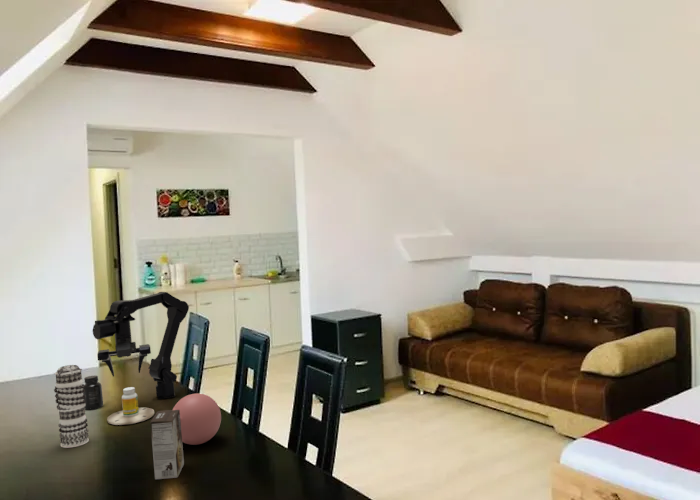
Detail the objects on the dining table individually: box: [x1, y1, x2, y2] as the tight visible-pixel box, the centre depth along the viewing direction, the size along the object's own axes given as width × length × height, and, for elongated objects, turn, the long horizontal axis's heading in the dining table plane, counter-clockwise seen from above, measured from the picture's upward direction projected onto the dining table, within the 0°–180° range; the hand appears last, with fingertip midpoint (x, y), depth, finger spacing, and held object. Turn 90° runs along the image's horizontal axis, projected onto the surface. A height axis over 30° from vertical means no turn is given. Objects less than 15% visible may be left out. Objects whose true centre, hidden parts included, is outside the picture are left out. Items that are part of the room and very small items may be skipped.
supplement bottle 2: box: [121, 386, 140, 417], centre depth 214 cm, size 5×5×10 cm
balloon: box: [172, 392, 222, 446], centre depth 184 cm, size 15×20×15 cm
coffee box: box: [150, 409, 185, 480], centre depth 165 cm, size 9×6×16 cm
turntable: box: [106, 407, 155, 426], centre depth 214 cm, size 16×16×1 cm
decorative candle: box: [53, 364, 90, 449], centre depth 192 cm, size 9×9×25 cm
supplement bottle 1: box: [82, 375, 104, 411], centre depth 230 cm, size 7×7×12 cm
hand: (126, 374), depth 226 cm, fingers open, 9 cm apart
